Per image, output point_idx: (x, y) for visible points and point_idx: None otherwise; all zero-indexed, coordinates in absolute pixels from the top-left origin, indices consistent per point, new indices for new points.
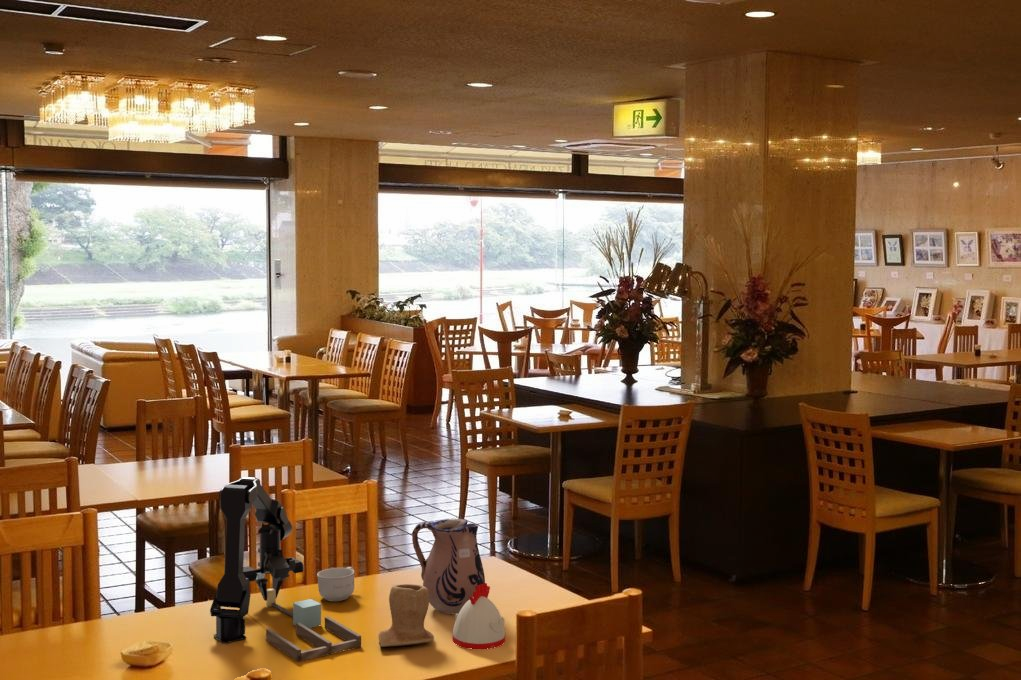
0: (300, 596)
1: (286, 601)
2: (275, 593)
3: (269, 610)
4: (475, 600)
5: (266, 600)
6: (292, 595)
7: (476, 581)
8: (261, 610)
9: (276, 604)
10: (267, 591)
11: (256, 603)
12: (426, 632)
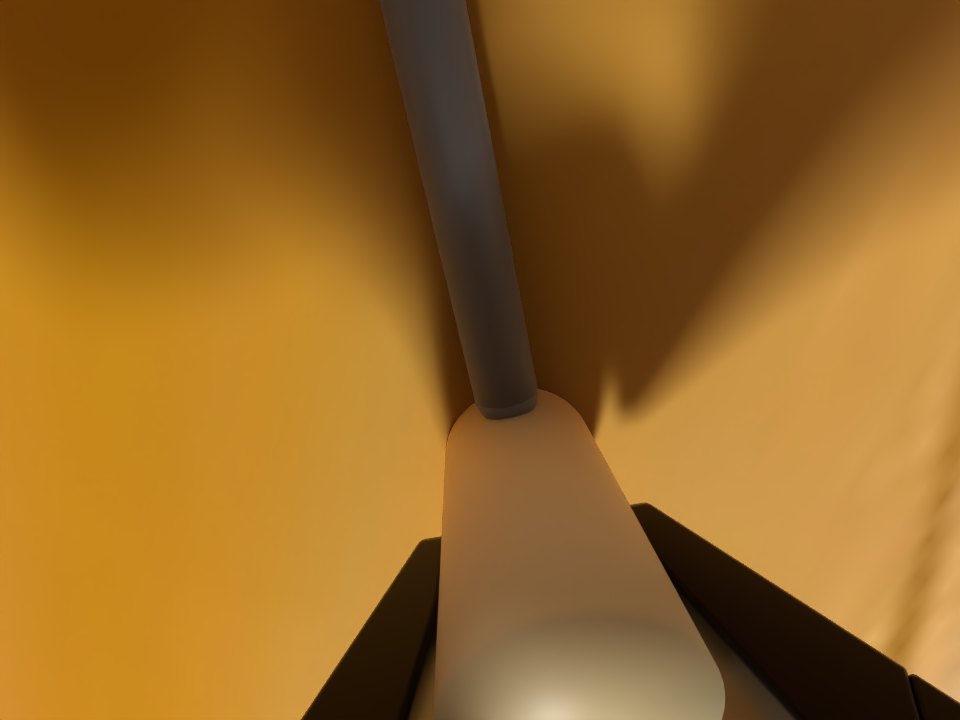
0: (21, 649)
1: (251, 531)
2: (461, 572)
3: (633, 212)
4: None
5: None
6: (138, 708)
7: None
8: (752, 273)
9: (487, 287)
10: (709, 660)
11: None
12: None
